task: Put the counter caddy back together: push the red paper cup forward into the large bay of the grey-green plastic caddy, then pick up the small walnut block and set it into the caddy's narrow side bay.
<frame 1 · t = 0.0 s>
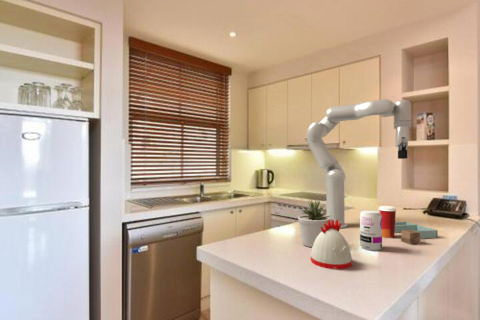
hand: (402, 158, 141), 37 cm above the worktop, tool pointing down, fingers open, 9 cm apart
potted plant: (314, 245, 119), on the worktop
caddy: (413, 235, 135), on the worktop
paper cup: (387, 236, 132), on the worktop
supplement can: (370, 248, 114), on the worktop
walnut block: (410, 242, 122), on the worktop
white crested dome: (330, 262, 99), on the worktop
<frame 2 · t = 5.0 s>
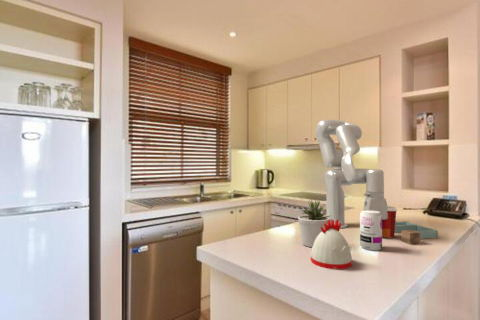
hand: (375, 234, 131), 1 cm above the worktop, tool pointing down, fingers closed
paper cup: (387, 236, 132), on the worktop, touching gripper
everything else where it was.
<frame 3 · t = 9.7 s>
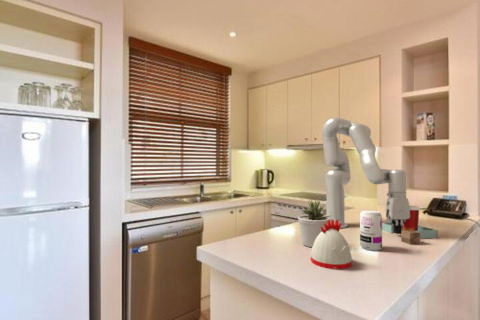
hand: (397, 233, 133), 1 cm above the worktop, tool pointing down, fingers closed
paper cup: (410, 235, 135), resting in caddy
everything else where it was.
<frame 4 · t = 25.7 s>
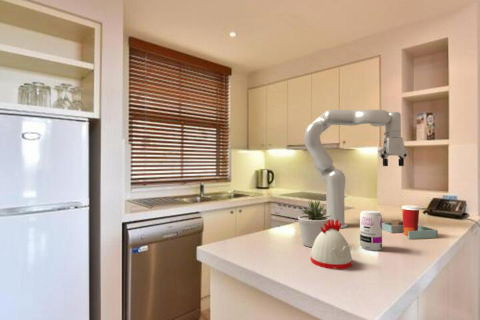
hand: (393, 166, 152), 33 cm above the worktop, tool pointing down, fingers open, 9 cm apart
walnut block: (399, 230, 144), resting in caddy
everything else where it was.
at the end: paper cup inside the target area on the caddy (1.4 cm from its centre), point 0.0 cm above the caddy's base; paper cup tilted 1°; walnut block inside the target area on the caddy (0.1 cm from its centre), point 0.0 cm above the caddy's base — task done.
